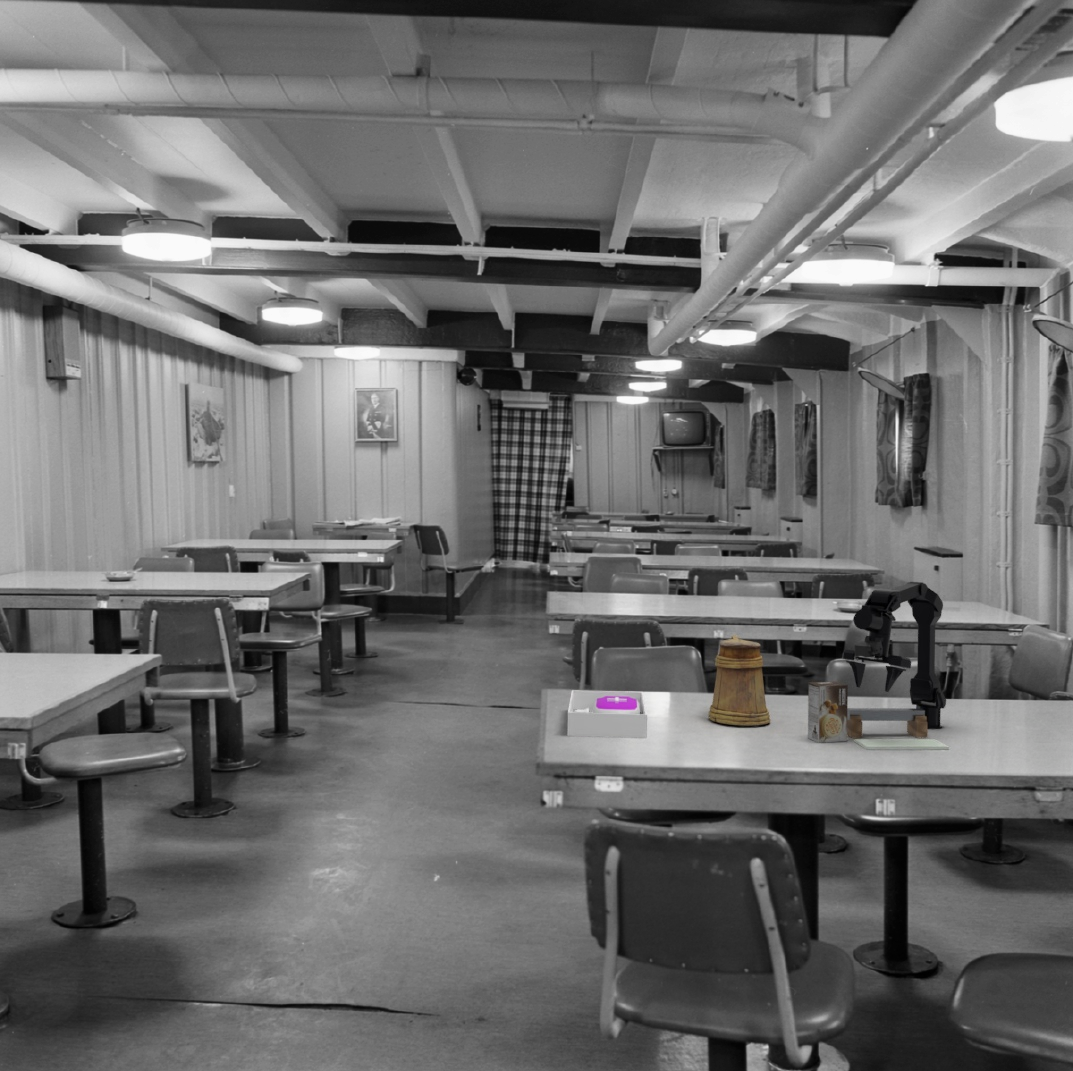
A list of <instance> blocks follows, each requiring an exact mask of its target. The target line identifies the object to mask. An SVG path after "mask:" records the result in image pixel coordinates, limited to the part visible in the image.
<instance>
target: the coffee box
mask: <svg viewBox="0 0 1073 1071" xmlns="http://www.w3.org/2000/svg"><path fill="white" fill-rule="evenodd" d="M807 683H808V696H807V698H808V699H807V701H808V704H807V706H808V707H807V714H808V715H807V716H808V717H807V720H808V721H807V738H808V739H809V740H812V741H814V742H816V743H819V744H820V743H821V744H823V743H835V742H836V743H837V742H848V735H847V708H848V701H849V700H848V696H849V695H848V691H849V690H848V688H849V687H848V684H846V683H842V682H839V681H817V682H816V681H815V682H807Z"/></svg>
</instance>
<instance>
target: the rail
mask: <svg viewBox="0 0 1073 1071" xmlns="http://www.w3.org/2000/svg"><path fill="white" fill-rule="evenodd" d="M850 716H862V722H864V721H865V722H867V721H868V722H869V721H870V722H872V721H873V722H874V721H875V722H878V721H880V722H885V721H886V722H892V721H893V722H907V721H915V716H925V710H923V709H921V708H916V707H915V708H911V707H910V708H908V707H907V708H902V707H901V708H897V707H895V708H889V707H888V708H886V707H885V708H883V707H880V708H874V707H873V708H871V707H870V708H869V707H867V708H865V707H861V708H860V707H859V708H858V707H857V708H855V707H849V708H848V707H847V719H848V720H849V721H850Z"/></svg>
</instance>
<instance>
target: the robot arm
mask: <svg viewBox="0 0 1073 1071" xmlns="http://www.w3.org/2000/svg"><path fill="white" fill-rule="evenodd" d="M905 602H907V603H908V605H909V606H910V608H911V613H912V617H913V619H914V620H915V622H916V624H917V663H916V664H917V665H916V666H917V667H916V668H917V670H916V673H915V675H914V676H913V678H910V680H909V681H910V684H909V685H910V686H909V687H910V688H909V694H910V695H909V696H910V704H911V705H913V706H915V708H921V709H923V710H925V716H926V717H927V721H926V722H928V723H927V729H943V726H942V725H941V709H945V708H946V705H947V699H946V696H945V694H944V693H943V691H942V689H941V681H940V680H939V678H938V676H937V675H936V671H935V670H936V669H935V668H936V667H935V665H936V662H935V660H936V658H935V657H936V625H937V623H938V622H939V620H940V619H941V617H942V611H943V609H944V602H943V600H942V599H941V597H940V595H939V594H938V593H937V592H936V591H934V590H932V588H931V589H930V588H929V587H928V585H927V584H926V583H924V582H922V581H920V582H919V581H910V582H906V583H905V584H903V585H899V586H897V587H895V588H891V589H874V590H873V591H871V594H870V595H869V596H868V598H867V600H866V602H865V603H864V604H862V605H861V608H860V609H858V610H857V611H856V613H855V614H854V615H853V624H854V626H855V627H856V628H857V629H860V630H862V631H866V632H868V635H865V637H864V641H860V642H858V643H854V645H853V648H854V649H853V650H852V649H845V650H844V651H843V653H842V657H841V658H842V660H845V661H846V663H848V664H849V665H850V667H851V669H852V673H853V676H854V681H855V686H856V688H861V684H862V682H863V677H864V675H865V669H866V665H867V664H866V663H864V662H873V663H882V664H888V665H885V668H886V672H887V673H886V678H885V687H884V691H885V692H886V693H889V692H890V690H891V689H892V688H893V686H894V684H895V682H896V681H897V680H898V678H899V677H900V676H901V675H902V673H903V672H907V669H909V670H910V669H911V667H912V661H911V659H910V658H909V657H905V656H901V655H892V654H890V653H889V648H890V644H891V645H892V644H893V639H891V633H892V632H891V631H892V626H893V622H896V617H895V616H894V614H893V612H895V611H897V610H899V609H900V608H901V604H902V603H905Z"/></svg>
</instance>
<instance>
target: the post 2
mask: <svg viewBox="0 0 1073 1071" xmlns="http://www.w3.org/2000/svg"><path fill="white" fill-rule="evenodd" d="M926 721H927V717H926V716H915V721H906V722H907V723H906V733H907V732H908V733H907V734H909V735H911V736H913V737H914V736H915V737H914V738H916V737H921V738H920V739H923V738H922V737H927V738H928V728H927V723H928V722H926Z"/></svg>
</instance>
